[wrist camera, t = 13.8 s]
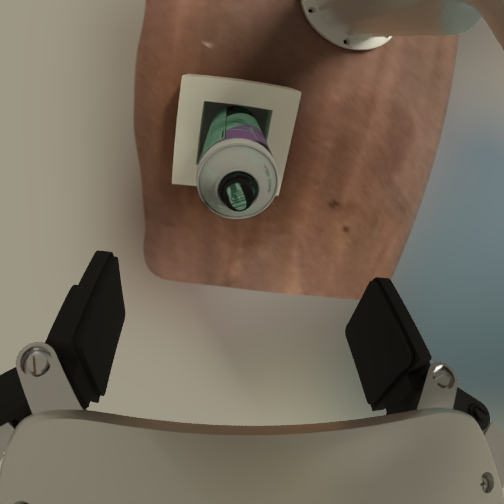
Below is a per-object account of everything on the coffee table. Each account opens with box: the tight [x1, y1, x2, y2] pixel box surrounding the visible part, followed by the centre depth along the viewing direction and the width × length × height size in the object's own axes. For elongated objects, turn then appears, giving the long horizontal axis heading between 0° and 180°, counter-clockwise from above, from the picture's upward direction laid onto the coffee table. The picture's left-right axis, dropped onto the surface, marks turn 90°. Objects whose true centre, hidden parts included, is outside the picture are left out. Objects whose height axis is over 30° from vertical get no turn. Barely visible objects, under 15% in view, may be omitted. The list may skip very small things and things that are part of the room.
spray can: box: [196, 106, 279, 219], centre depth 26 cm, size 6×6×20 cm
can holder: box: [172, 74, 302, 196], centre depth 32 cm, size 12×12×6 cm
